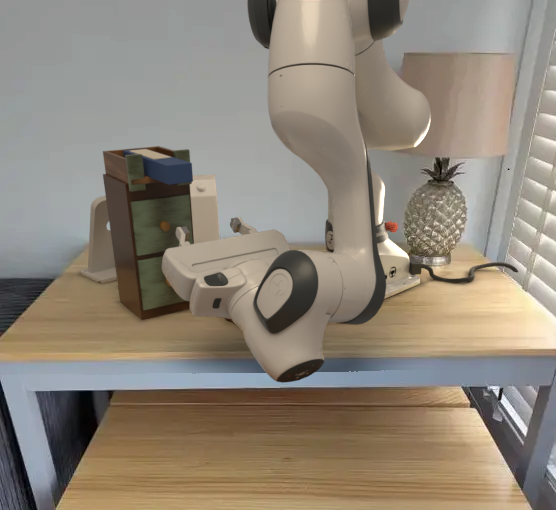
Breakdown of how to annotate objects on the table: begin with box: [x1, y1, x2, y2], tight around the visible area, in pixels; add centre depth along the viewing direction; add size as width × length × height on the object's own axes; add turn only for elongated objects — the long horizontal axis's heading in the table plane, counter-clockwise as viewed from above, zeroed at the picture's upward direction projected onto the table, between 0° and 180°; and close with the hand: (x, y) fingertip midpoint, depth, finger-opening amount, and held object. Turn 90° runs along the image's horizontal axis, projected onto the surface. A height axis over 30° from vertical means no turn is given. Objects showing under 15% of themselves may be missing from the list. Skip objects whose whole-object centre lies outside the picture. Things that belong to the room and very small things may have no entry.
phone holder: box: [79, 195, 117, 284], centre depth 138 cm, size 17×10×18 cm, turn 136°
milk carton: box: [190, 174, 221, 244], centre depth 148 cm, size 7×7×19 cm
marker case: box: [123, 149, 194, 185], centre depth 106 cm, size 4×20×3 cm, turn 33°
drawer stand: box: [102, 145, 194, 321], centre depth 115 cm, size 12×13×30 cm
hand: (208, 224), depth 95 cm, fingers open, 8 cm apart
